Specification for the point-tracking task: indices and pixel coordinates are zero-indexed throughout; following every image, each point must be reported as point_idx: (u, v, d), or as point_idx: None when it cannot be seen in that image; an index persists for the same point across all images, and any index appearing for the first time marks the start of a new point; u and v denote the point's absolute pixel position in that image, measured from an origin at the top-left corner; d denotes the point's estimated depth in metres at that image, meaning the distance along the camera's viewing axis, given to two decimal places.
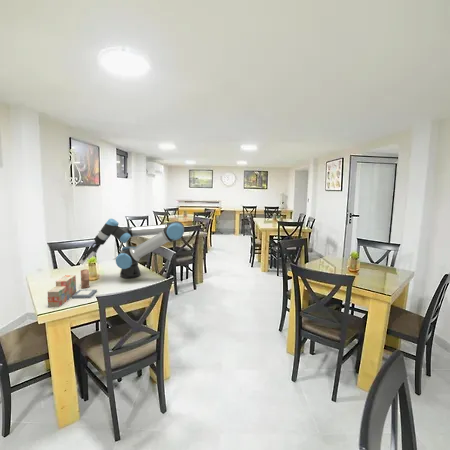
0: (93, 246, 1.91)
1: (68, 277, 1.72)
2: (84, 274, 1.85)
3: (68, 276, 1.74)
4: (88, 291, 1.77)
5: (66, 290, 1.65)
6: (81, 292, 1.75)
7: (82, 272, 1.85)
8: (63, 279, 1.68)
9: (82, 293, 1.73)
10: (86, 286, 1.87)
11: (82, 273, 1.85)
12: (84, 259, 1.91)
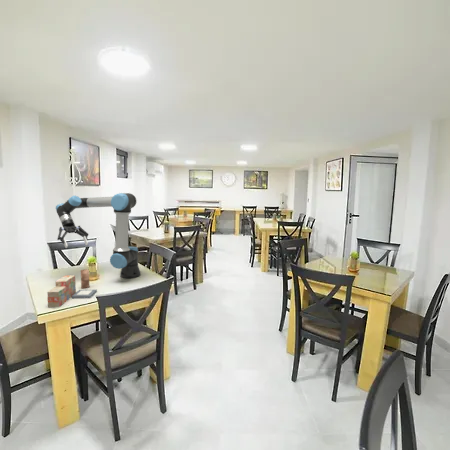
0: (59, 229, 1.92)
1: (68, 277, 1.72)
2: (84, 274, 1.85)
3: (68, 276, 1.74)
4: (88, 291, 1.77)
5: (66, 290, 1.65)
6: (81, 292, 1.75)
7: (82, 272, 1.85)
8: (63, 279, 1.68)
9: (82, 293, 1.73)
10: (86, 286, 1.87)
11: (82, 273, 1.85)
12: (62, 241, 1.87)
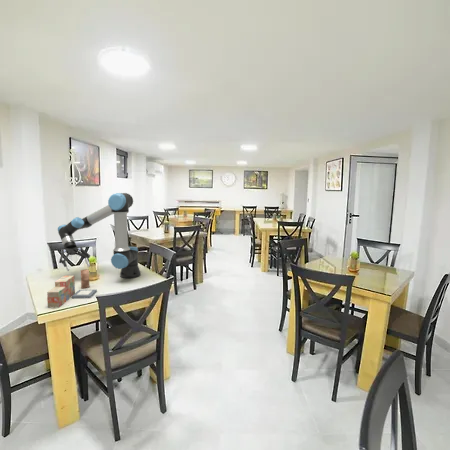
0: (61, 251, 1.91)
1: (67, 277, 1.71)
2: (84, 274, 1.85)
3: (67, 276, 1.73)
4: (88, 291, 1.77)
5: (65, 290, 1.65)
6: (81, 292, 1.75)
7: (82, 272, 1.85)
8: (62, 279, 1.67)
9: (82, 293, 1.73)
10: (86, 286, 1.87)
11: (82, 273, 1.85)
12: (64, 264, 1.86)
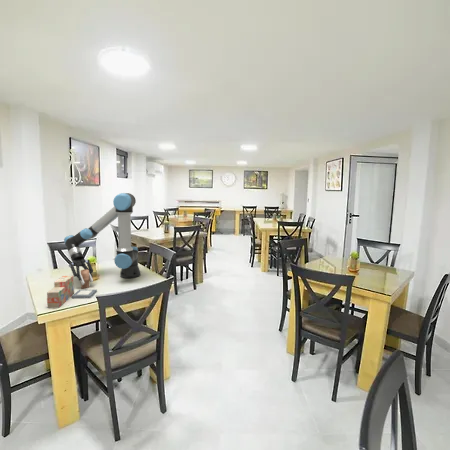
0: (70, 265, 1.86)
1: (66, 278, 1.71)
2: (84, 274, 1.85)
3: (66, 277, 1.73)
4: (88, 291, 1.77)
5: (65, 291, 1.64)
6: (81, 292, 1.75)
7: (82, 272, 1.85)
8: (61, 280, 1.67)
9: (82, 293, 1.73)
10: (86, 286, 1.87)
11: (82, 273, 1.85)
12: (79, 278, 1.84)
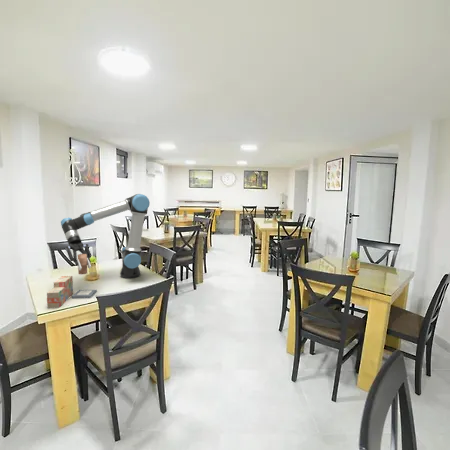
0: (66, 249, 1.72)
1: (65, 278, 1.70)
2: (81, 258, 1.71)
3: (65, 277, 1.72)
4: (88, 291, 1.77)
5: (64, 291, 1.64)
6: (81, 292, 1.75)
7: (79, 256, 1.70)
8: (61, 280, 1.66)
9: (82, 293, 1.73)
10: (83, 272, 1.72)
11: (79, 257, 1.70)
12: (76, 262, 1.69)
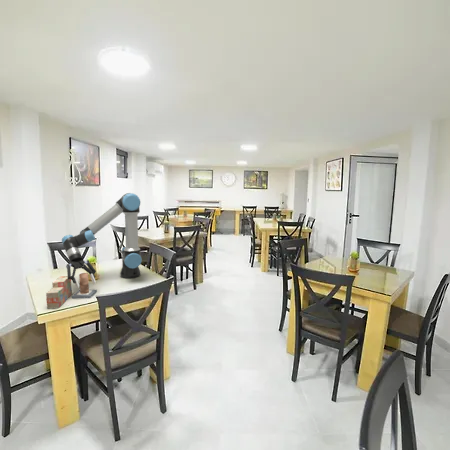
0: (67, 266, 1.73)
1: (64, 278, 1.70)
2: (83, 278, 1.72)
3: (63, 277, 1.72)
4: None
5: (64, 291, 1.64)
6: None
7: (81, 276, 1.72)
8: (59, 280, 1.66)
9: None
10: (85, 291, 1.73)
11: (81, 277, 1.72)
12: (73, 280, 1.69)
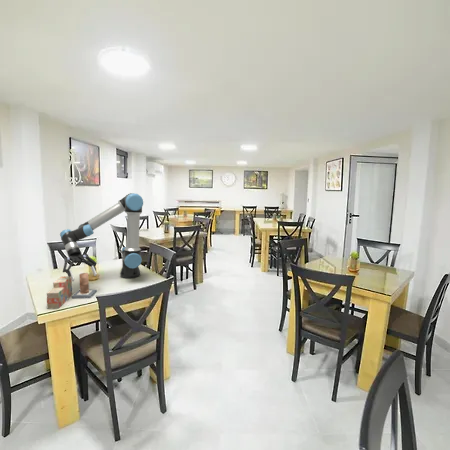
0: (65, 259, 1.72)
1: (65, 278, 1.70)
2: (83, 278, 1.72)
3: (64, 277, 1.72)
4: None
5: (64, 291, 1.64)
6: None
7: (81, 276, 1.71)
8: (60, 280, 1.66)
9: None
10: (85, 291, 1.73)
11: (81, 277, 1.72)
12: (68, 274, 1.67)
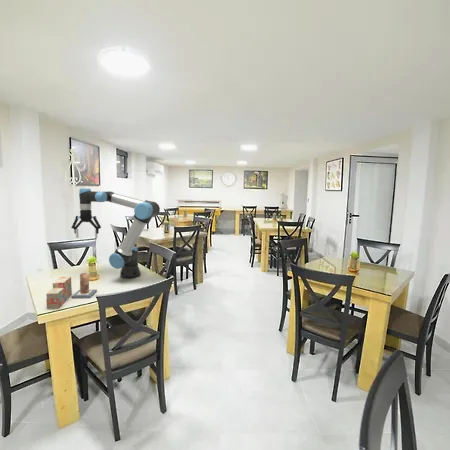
0: None
1: (64, 278, 1.69)
2: (84, 278, 1.72)
3: (64, 277, 1.71)
4: None
5: (64, 291, 1.63)
6: None
7: (81, 276, 1.72)
8: (60, 281, 1.65)
9: None
10: (85, 291, 1.73)
11: (81, 277, 1.72)
12: (74, 232, 2.03)
